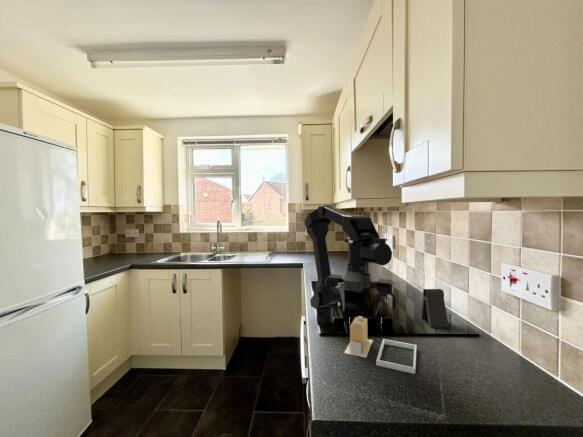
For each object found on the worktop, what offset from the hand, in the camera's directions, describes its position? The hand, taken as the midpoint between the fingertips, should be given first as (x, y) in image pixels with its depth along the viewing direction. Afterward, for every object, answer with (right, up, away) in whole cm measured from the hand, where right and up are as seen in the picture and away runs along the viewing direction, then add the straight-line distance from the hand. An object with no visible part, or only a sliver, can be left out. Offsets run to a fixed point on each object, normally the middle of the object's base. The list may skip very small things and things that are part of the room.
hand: (358, 313), depth 78 cm
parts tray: (+9, -10, -6) cm, 15 cm away
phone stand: (+31, -10, +18) cm, 38 cm away
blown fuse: (0, -10, 0) cm, 10 cm away
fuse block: (0, -10, 0) cm, 10 cm away
